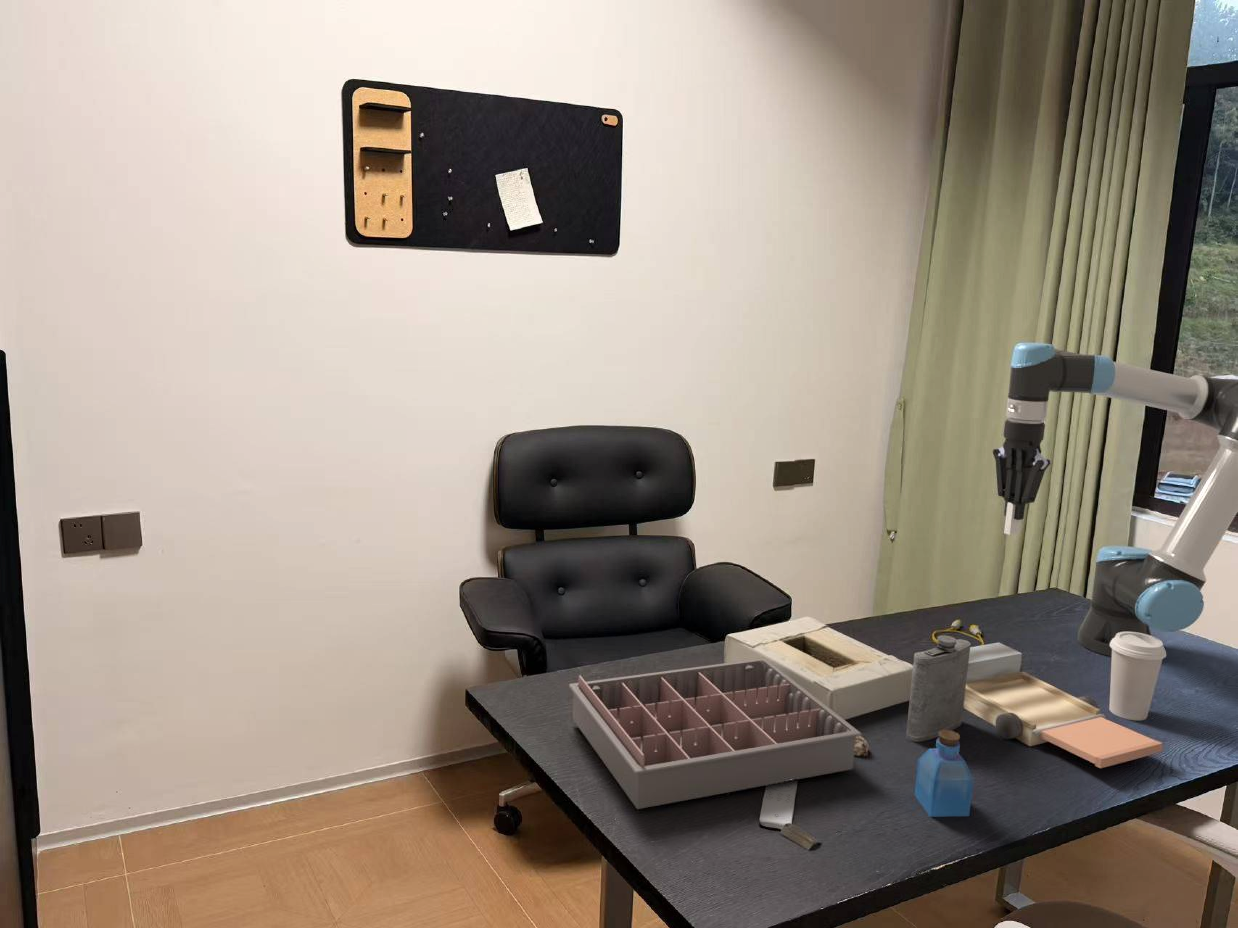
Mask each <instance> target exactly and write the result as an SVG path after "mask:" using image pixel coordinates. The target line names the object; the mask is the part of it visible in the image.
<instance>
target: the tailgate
mask: <svg viewBox="0 0 1238 928" xmlns="http://www.w3.org/2000/svg"><path fill="white" fill-rule="evenodd" d="M1032 733H1033V734H1034V735H1037V734H1041V738H1042V739H1045V740H1047V741H1049V743H1051V744H1053V745H1055V746H1058V748H1059V747H1060V748H1061V749H1063V750H1066V751H1067V752H1069V753H1071V754H1073V755H1076V756H1078V757H1080V758H1082V759H1084V760H1086V761H1089V762H1090V763H1092V764H1094V766H1095V767H1097V768H1099V769H1103V768H1107V767H1111V766H1115V765H1118V764H1122V763H1127V762H1129V761H1133V760H1137V759H1140V758H1144V757H1148V756H1152V755H1157V754H1159V753H1162V752H1163V746H1164V744H1163V742H1161V741H1159V740H1156V739H1153V738H1151V737H1148V736H1146V735H1144V734H1141V733H1139V732H1137V731H1135V730H1132V729H1130V728H1127V727H1125V726H1122V725H1120V724H1118V723H1115V722H1113V721H1111V720H1109V719H1106V715H1105V714H1104V713H1100V714H1098V715H1094V716H1090V717H1086V718H1081V719H1077V720H1073V721H1068V722H1064V723H1060V724H1056V725H1051V726H1047V727H1043V728H1038V729H1034V730H1032Z"/></svg>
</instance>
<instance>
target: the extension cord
mask: <svg viewBox="0 0 1238 928" xmlns="http://www.w3.org/2000/svg"><path fill="white" fill-rule="evenodd" d="M962 624H963V622H962V621H961V620H960V619H956V620H955V621H953V622H952V623H951V626H950V628H948V629H945V630H944V629H943V630H940V629H939V630H935V631H934V632H933V633H932V641H933V642H934V643H936V644H937V645H938V642H937V638H936V637H935V636H936V635H937V634H941V633H958V634H962V635H965V636H968V637H970V638H973V639H975V640H977V641H979V642H981V644H980V645H979V646H982V645H986V644H985V642H984V640H983V639H982V637H981V635H982V631H981V630H980V629H981V628H980V626H979V625H976V624H971V625H970V627H969V628H968V629H969V632H971V633H972V634H973V635H974V636H973V635H971V634H968V633H965V632H963V631H960V630H959V629H960V628H961V626H962ZM958 630H959V631H958Z"/></svg>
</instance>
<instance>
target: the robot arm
mask: <svg viewBox="0 0 1238 928" xmlns="http://www.w3.org/2000/svg"><path fill="white" fill-rule="evenodd" d="M1009 374H1010V376H1009V377H1010V378H1009V387H1008V395H1007V402H1006V403H1007V404H1006V412H1005V416H1006V418H1007V419H1006V420H1005V421H1004V427H1003V433H1002V434H1003V437H1004V438H1005V440H1004V442H1003V444H1002V446H1001V447H999V448H995V449H994V448H993V450H992V454H993V457H994V461H995V473H996V484H997V485H996V486H997V487H996V488H997V495H998V496H999V497H1002V498H1003V499H1004V501H1005V502H1004V503H1005V504H1004V511H1003V512H1004V513H1003V514H1004V516H1005V522H1004V529H1003V534H1005V535H1009V536H1012V535H1020V531H1021V523H1022V520H1024V518H1025V512H1026V511H1025V510H1026V505H1027V504H1032V503H1034V502H1036V498H1037V495H1038V492H1039V490H1040V487H1041V484H1042V482H1043V478H1044V474H1045V472H1046V470H1047V469H1048V468H1049V466H1050V465H1051V460H1050V459H1049V458H1048V459H1045V457H1044V456H1043V455H1042V448H1041V444H1042V441H1043V440H1044V439H1045V438H1044V436H1045V428H1046V424H1045V422H1044V421H1046V420H1047V414H1048V405H1049V398H1050V397H1049V396H1050V392H1052V393H1053V392H1054V393H1059V392H1061V393H1063V392H1065V393H1082V394H1090V395H1097V396H1101V397H1105V398H1110V399H1115V400H1118V401H1120V400H1121V401H1123V402H1129V403H1132V404H1137V405H1142V406H1147V407H1150V408H1157V409H1161V410H1165V411H1169V412H1174V413H1178V415H1179V417H1181V418H1182V419H1183V420H1189V421H1192V422H1195V423H1199V424H1202V425H1205V426H1207V427H1210V428H1212V429H1215V430H1217V431H1219V433H1218V434H1217V440H1218V443H1219V449H1218V450H1217V452H1216V454H1215V455H1214V458H1213V459H1212V461H1211V462H1210V464H1209V466H1208V468H1206V471H1205V472H1204V474H1203V476H1202V478H1201V479H1200V481H1199V483H1198V484H1197V486H1196V488H1195V490H1194V491H1193V492H1192V494H1191V497H1190V498H1189V499H1188V501H1187V503H1186V504H1185V507H1184V508H1183V510H1182V512H1181V513H1180V515H1179V517H1178V518H1177V520H1176V522H1175V524H1174V525H1173V527H1172V529H1170V532H1169V534H1168V536H1167V537H1166V539H1165V540H1164V542H1163V544H1162V546H1161V547H1160V548H1159V549H1156V550H1152V549H1150V548H1145V547H1144V548H1142V547H1137V546H1128V545H1107V546H1104V547H1101V548H1100V549H1099V551H1098V554H1097V557H1096V560H1095V570H1094V579H1093V586H1092V594H1091V602H1090V607H1089V609H1088V612H1087V614H1086V616H1085V617H1084V619H1083V621H1082V622H1081V625H1080V627H1079V628H1078V631H1077V638H1076V639H1077V642H1078V643H1079V644H1080V646H1082V647H1084V648H1086V649H1088V650H1089V651H1092V652H1094V653H1098V654H1101V655H1105V656H1108V657H1112V648H1111V647H1110V642H1111V640H1112V639H1113V638H1114V637H1115V636H1116V634H1117V633H1119V632H1138V633H1143V634H1147V635H1150V636H1152V632H1151V628H1152V629H1155V630H1157V631H1160V632H1165V633H1166V632H1167V633H1169V632H1170V633H1171V632H1172V633H1173V632H1177V631H1181V630H1184V629H1187V628H1188V627H1190V626H1191V625H1193V624H1195V622H1197V621H1198V620H1199V618H1200V617H1201V615H1202V614H1203V611H1204V606H1205V601H1204V595H1203V594H1202V592H1201V590H1202V588H1203V587H1204V586H1205V584H1206V582H1207V577H1206V575H1205V572H1204V569H1205V568H1206V565H1207V564H1208V563H1209V560H1210V559H1211V558H1212V555H1213V554H1214V552H1215V551H1216V549H1217V547H1218V545H1219V544H1220V542H1221V540H1222V538H1223V537H1224V535H1225V533H1226V532H1227V530H1228V528H1229V527H1230V525H1231V524H1232V522H1233V520H1234V519H1235V517H1236V515H1237V513H1238V379H1229V378H1218V377H1217V378H1216V377H1209V376H1205V375H1198V374H1196V375H1192V376H1191V377H1186V376H1181V375H1177V374H1172V373H1167V372H1163V371H1158V370H1153V369H1149V368H1144V367H1139V366H1135V365H1129V364H1128V363H1126V364H1125V363H1122V362H1116V361H1113V359H1112V358H1111V357H1109V356H1107V355H1098V354H1081V353H1077V352H1072V351H1067V350H1063V349H1062V350H1061V349H1057V348H1055V346H1054V345H1053V344H1051V343H1042V342H1028V341H1027V342H1020V343H1017V344H1016V345H1015V346H1014V348H1013V352H1012V358H1011V363H1010V373H1009Z"/></svg>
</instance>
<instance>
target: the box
mask: <svg viewBox="0 0 1238 928" xmlns="http://www.w3.org/2000/svg"><path fill="white" fill-rule="evenodd" d="M723 651H724V652H723V664H724V663H731V662H739V661H746V660H754V659H761V658H765V659H767V660H768V661H769V662H771V663H772V664H773V665H774V666H776V667H777V668H778V669H780V670H781V671H782V672H783V673H785V674H786V675H787V676H789V677H790V678H791V679H792V680H794V681H795V682H796V683H798V684H799V685H800V686H801V687H803V688H804V689H805V690H806V691H808V692H809V693H810V694H812V695H813V696H814V697H815V698H817V699H818V700H819V701H821V702H822V703H823V704H824V705H826V706H827V707H828V708H830V709H831V710H832V711H833V712H835V713H836V714H837V715H839V716H840V717H841V718H842V719H844V720H845V721H846V720H848V719H852V718H855V717H858V716H861V715H865V714H868V713H871V712H874V711H878V710H883V709H884V708H889V707H891V706H892V707H893V706H894V705H898V704H902V703H905V702H910V693H911V683H912V673H913V664H911V663H909V662H907V661H904V660H901V659H899V658H897V657H896V656H894V655H891V654H890V655H888V654H887V653H885V652H882V651H880V650H878V649H876V648H873V647H872V646H869V645H867V644H865V643H862V642H861V641H858V640H856V639H854V638H852V637H850V636H848V635H845V634H844V633H842V632H840V631H837V630H835V629H833V628H831V627H829V626H828V625H827V624H824V623H822V622H821V621H818V620H817V619H816V618H814V617H810V616H803V617H800V618H797V619H793V620H789V621H784V622H779V623H776V624H771V625H766V626H762V627H758V628H753V629H748V630H744V631H739V632H734V633H729V634H727V635H726V636H725V639H724V650H723Z"/></svg>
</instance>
